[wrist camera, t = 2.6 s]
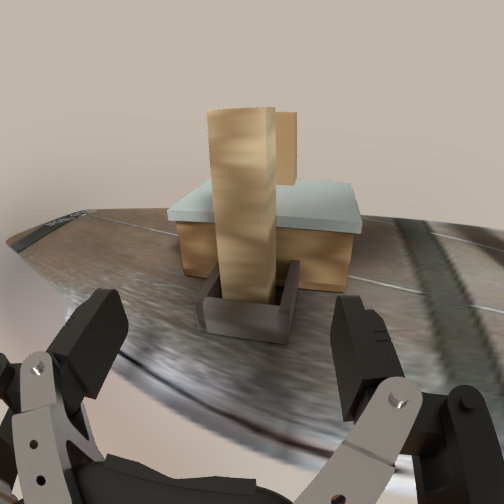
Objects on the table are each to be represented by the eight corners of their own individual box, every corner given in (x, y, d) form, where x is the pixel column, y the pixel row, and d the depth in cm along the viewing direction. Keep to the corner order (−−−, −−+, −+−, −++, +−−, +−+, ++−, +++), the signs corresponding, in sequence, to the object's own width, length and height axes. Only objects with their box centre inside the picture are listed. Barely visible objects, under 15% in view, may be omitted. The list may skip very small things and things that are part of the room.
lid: (350, 191, 33) (354, 116, 28) (360, 233, 22) (370, 121, 18) (213, 184, 36) (208, 114, 32) (168, 220, 26) (156, 123, 22)
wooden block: (275, 300, 26) (275, 107, 18) (267, 327, 23) (265, 107, 15) (237, 296, 26) (225, 108, 19) (225, 321, 23) (206, 110, 16)
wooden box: (341, 240, 35) (346, 194, 33) (346, 350, 20) (362, 284, 17) (219, 230, 39) (215, 187, 36) (150, 320, 23) (133, 260, 20)
